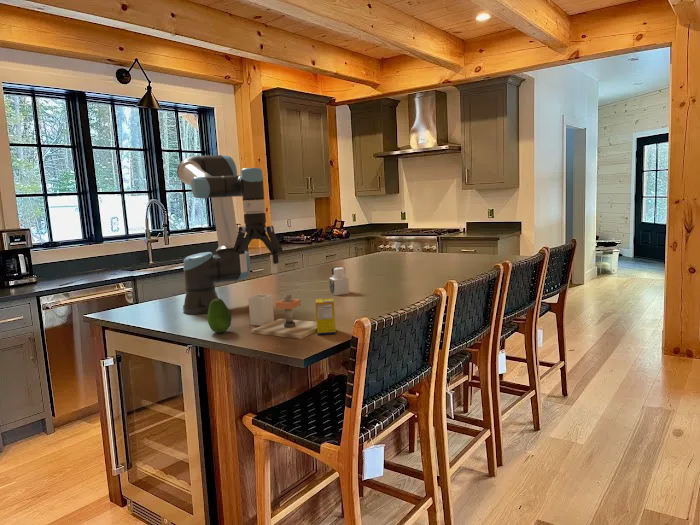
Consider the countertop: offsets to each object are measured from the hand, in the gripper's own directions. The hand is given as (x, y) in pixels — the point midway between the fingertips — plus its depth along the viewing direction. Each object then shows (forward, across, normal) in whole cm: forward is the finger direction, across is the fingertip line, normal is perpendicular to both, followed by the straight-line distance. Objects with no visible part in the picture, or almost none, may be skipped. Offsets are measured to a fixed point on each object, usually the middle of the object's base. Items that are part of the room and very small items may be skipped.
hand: (259, 272), depth 187 cm
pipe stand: (+19, +15, -4) cm, 24 cm away
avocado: (+19, -6, -15) cm, 25 cm away
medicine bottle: (+19, 0, +56) cm, 59 cm away
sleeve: (+19, 0, 0) cm, 19 cm away
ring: (+11, +15, -4) cm, 19 cm away
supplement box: (+19, +29, -3) cm, 35 cm away
